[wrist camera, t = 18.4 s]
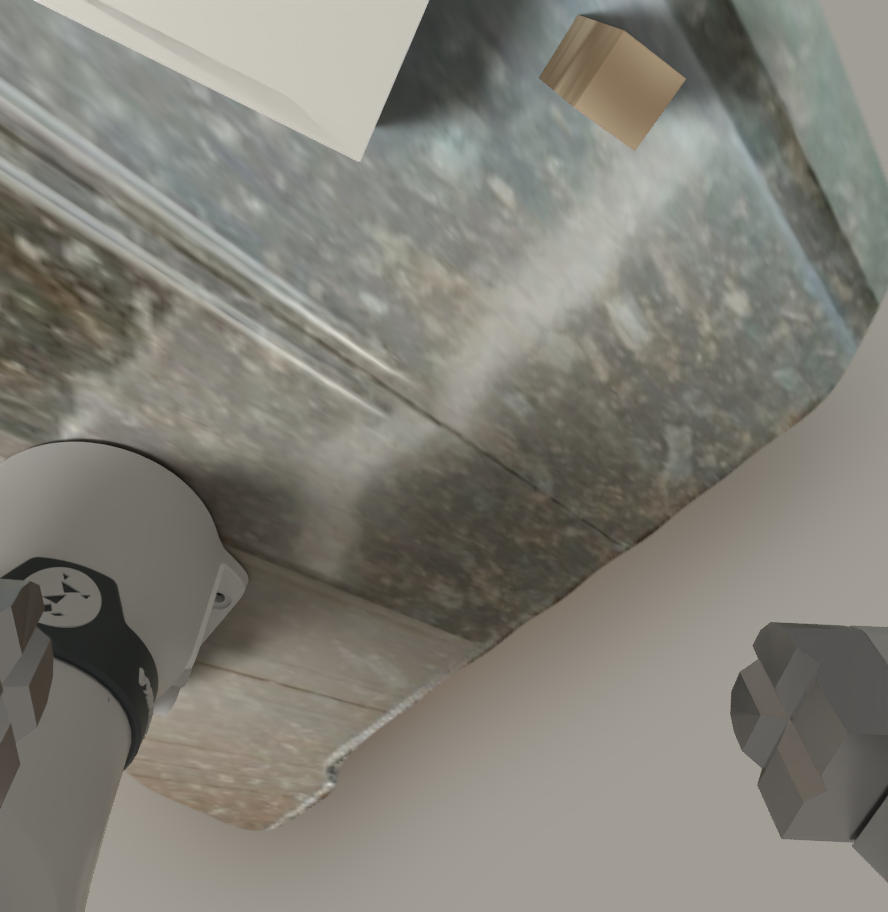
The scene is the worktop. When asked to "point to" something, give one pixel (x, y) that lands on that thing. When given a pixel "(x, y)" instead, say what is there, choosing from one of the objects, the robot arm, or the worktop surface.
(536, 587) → the worktop surface
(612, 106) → the brown wooden block
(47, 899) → the robot arm
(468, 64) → the worktop surface
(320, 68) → the box
